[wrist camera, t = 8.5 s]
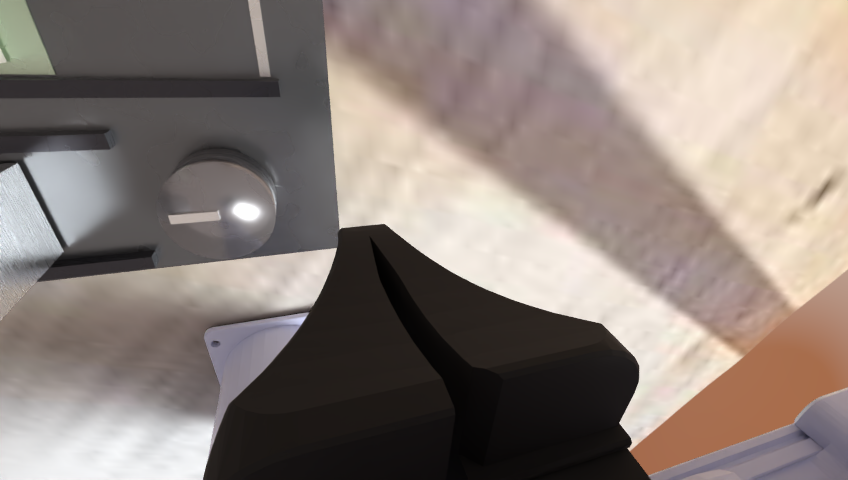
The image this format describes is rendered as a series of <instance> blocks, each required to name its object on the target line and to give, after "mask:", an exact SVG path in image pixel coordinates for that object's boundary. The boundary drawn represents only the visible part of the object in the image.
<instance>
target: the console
mask: <svg viewBox="0 0 848 480" xmlns="http://www.w3.org/2000/svg"><path fill="white" fill-rule="evenodd" d="M0 49H1V51H2V53H3V55H4V57H5V59H6V61H7V62H5V63H0V321H1V320H2V319H3V318H4V316H5V315H6V314H7V313H8V312H9V311H10V310H11V309H12V308H13V307H14V306H15V304H16V303H17V302H18V301H19V300H20V299H21V298H22V297H23V296H24V295H25V294H26V292H27V291H28V290H29V289H30V288H31V287H32V286H33V285H34V284H35V283H36V282H41V281H50V280H58V279H67V278H76V277H85V276H94V275H102V274H111V273H120V272H129V271H138V270H146V269H155V268H164V267H173V266H181V265H190V264H199V263H208V262H217V261H225V260H234V259H243V258H252V257H261V256H269V255H278V254H287V253H296V252H304V251H313V250H322V249H331V248H337V246H338V233H337V232H338V231H339V218H338V205H337V191H336V178H335V165H334V151H333V138H332V125H331V111H330V98H329V84H328V71H327V58H326V44H325V31H324V18H323V4H322V0H0Z"/></svg>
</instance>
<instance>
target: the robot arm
mask: <svg viewBox="0 0 848 480" xmlns="http://www.w3.org/2000/svg"><path fill="white" fill-rule="evenodd" d="M337 233H338V246H337V251H336V255H335V258H334V261H333V264H332V267H331V270H330V273H329V275H328V277H327V280H326V282H325V284H324V287H323V289H322V291H321V293H320V295H319V297H318V299H317V300H316V302H315V304H314V306H313V307H312V309H311V311H310V312H307V313H300V314H294V315H288V316H281V317H275V318H269V319H262V320H256V321H249V322H243V323H237V324H230V325H224V326H218V327H212V328H209V329H207V330H206V332H205V334H204V340H205V343H206V346H207V349H208V352H209V355H210V358H211V361H212V364H213V367H214V369H215V372H216V375H217V378H218V381H219V384H220V387H221V388H220V394H219V400H218V405H217V411H216V417H215V422H214V428H213V434H212V439H211V445H210V451H209V456H208V462H207V465H206V469H205V473H204V477H203V480H848V387H847V388H844V389H842V390H839V391H836V392H833V393H830V394H827V395H824V396H821V397H819V398H817V399H815V400H814V401H812V402H811V403H810V404H808V405H807V406H806V407H805V408H804V409H803V410H802V411H801V412H800V414H799V415H798V416H797V417H796V418H795V423H793V424H791V425H787V426H785V427H782V428H779V429H776V430H774V431H771V432H768V433H765V434H762V435H759V436H757V437H754V438H751V439H748V440H746V441H743V442H740V443H737V444H735V445H732V446H729V447H726V448H723V449H721V450H718V451H715V452H712V453H709V454H707V455H704V456H701V457H698V458H695V459H693V460H690V461H687V462H684V463H681V464H679V465H676V466H673V467H670V468H667V469H665V470H662V471H659V472H656V473H653V474H651V475H647V474H646V472H645V471H644V470H643V468H642V467H641V466H640V464H639V463H638V462H637V461H636V459H635V458H634V457H633V455H632V454H631V453H630V451H629V450H628V449H627V448H628V447H630V445H631V444H632V441H631V438H630V436H629V435H628V434H627V433H626V431H625V430H624V429H623V428H622V426H621V425H620V424H619V422H620V420H621V418H622V416H623V414H624V412H625V410H626V408H627V406H628V404H629V402H630V401H631V399H632V397H633V395H634V393H635V390H636V387H637V384H638V382H639V365H638V363H637V361H636V359H635V357H634V356H633V355H632V354H631V353H630V352H629V351H628V350H627V349H626V348H625V347H624V346H623V345H622V344H621V343H620V342H619V341H618V340H617V339H616V338H615V337H614V336H613V335H612V334H611V333H610V332H609V331H608V330H607V329H606V328H605V327H604V326H603V325H602V324H600V323H595V322H591V321H587V320H582V319H578V318H573V317H569V316H565V315H560V314H556V313H552V312H549V311H545V310H542V309H539V308H535V307H532V306H529V305H526V304H523V303H520V302H517V301H514V300H511V299H508V298H506V297H503V296H501V295H498V294H496V293H493V292H491V291H488V290H486V289H484V288H482V287H479V286H477V285H475V284H473V283H471V282H469V281H467V280H465V279H463V278H461V277H459V276H457V275H456V274H454V273H452V272H450V271H449V270H447V269H445V268H444V267H442V266H441V265H439V264H437V263H436V262H434V261H433V260H431V259H430V258H428V257H427V256H425V255H424V254H422V253H421V252H420V251H418V250H417V249H416V248H414V247H413V246H412V245H410V244H409V243H408V242H406V241H405V240H404V239H403V238H401V237H400V236H399V235H398V234H396V233H395V232H394V231H393V230H391V229H390V228H389V227H388V226H386V225H385V224H380V225H370V226H360V227H350V228H341V229H340V230H339V231H338V232H337ZM213 341H219V342H218V343H216V342H213Z"/></svg>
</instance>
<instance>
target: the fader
mask: <svg viewBox="0 0 848 480" xmlns="http://www.w3.org/2000/svg"><path fill="white" fill-rule="evenodd" d="M5 62H7V61H6V59H5V57H4V55H3V53H2V51H1V49H0V63H5Z"/></svg>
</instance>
